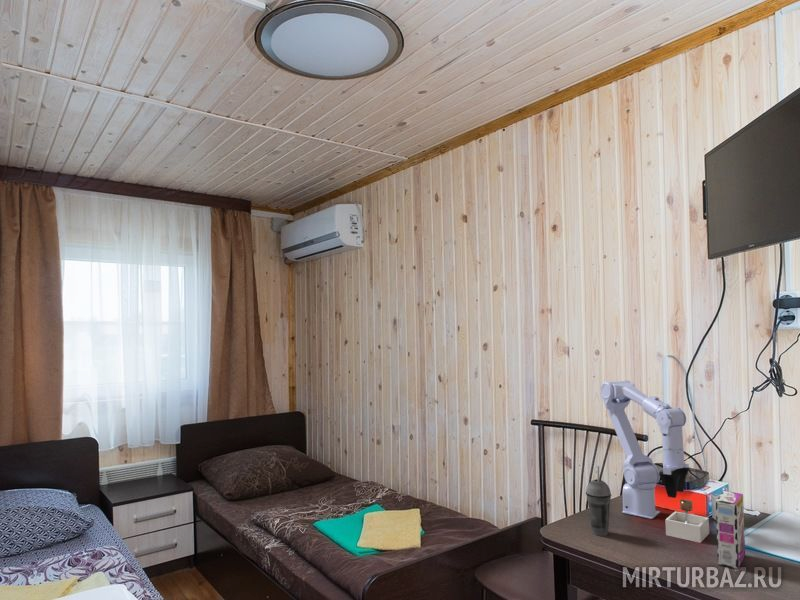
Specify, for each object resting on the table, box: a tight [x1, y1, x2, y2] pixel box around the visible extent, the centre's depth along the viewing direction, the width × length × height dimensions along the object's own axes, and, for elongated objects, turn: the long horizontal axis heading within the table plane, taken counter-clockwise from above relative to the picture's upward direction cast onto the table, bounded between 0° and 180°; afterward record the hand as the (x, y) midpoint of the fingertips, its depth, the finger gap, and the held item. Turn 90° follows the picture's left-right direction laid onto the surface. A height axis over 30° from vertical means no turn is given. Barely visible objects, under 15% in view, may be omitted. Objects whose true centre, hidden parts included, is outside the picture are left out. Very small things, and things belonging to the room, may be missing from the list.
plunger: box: [678, 498, 697, 525], centre depth 163 cm, size 7×7×8 cm
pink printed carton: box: [715, 490, 746, 570], centre depth 145 cm, size 11×5×16 cm, turn 141°
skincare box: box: [710, 494, 721, 521], centre depth 173 cm, size 6×6×7 cm
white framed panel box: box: [664, 511, 710, 544], centre depth 164 cm, size 9×11×4 cm
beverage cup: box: [585, 465, 612, 537], centre depth 166 cm, size 7×7×20 cm
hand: (675, 494), depth 168 cm, fingers open, 7 cm apart
